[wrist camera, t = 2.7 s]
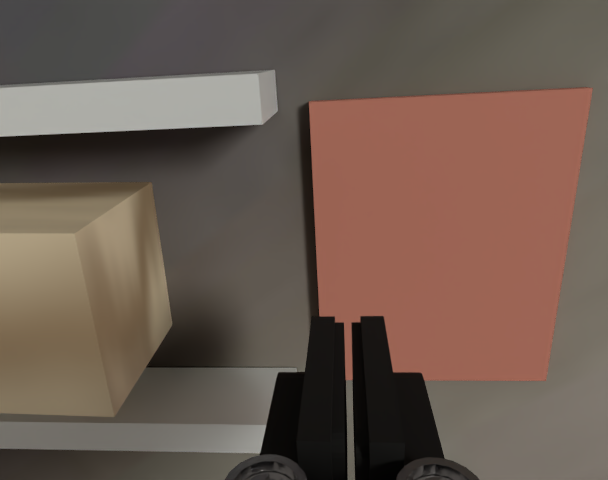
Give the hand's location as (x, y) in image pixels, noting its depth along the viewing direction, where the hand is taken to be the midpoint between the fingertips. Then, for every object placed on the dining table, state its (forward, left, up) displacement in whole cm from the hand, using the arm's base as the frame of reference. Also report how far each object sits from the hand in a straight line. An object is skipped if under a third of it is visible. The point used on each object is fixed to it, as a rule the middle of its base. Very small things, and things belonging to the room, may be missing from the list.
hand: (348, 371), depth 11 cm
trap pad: (-1, +3, -6) cm, 6 cm away
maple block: (-1, -10, -6) cm, 12 cm away
